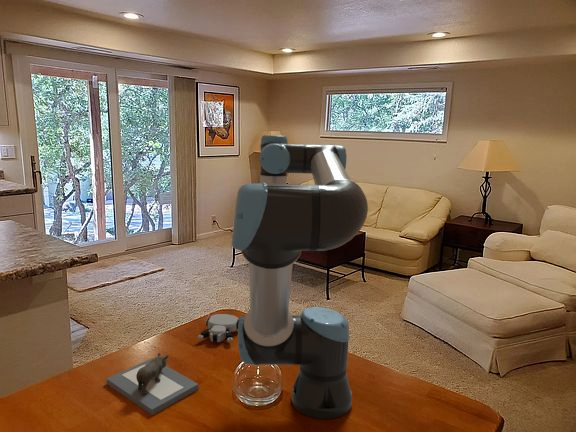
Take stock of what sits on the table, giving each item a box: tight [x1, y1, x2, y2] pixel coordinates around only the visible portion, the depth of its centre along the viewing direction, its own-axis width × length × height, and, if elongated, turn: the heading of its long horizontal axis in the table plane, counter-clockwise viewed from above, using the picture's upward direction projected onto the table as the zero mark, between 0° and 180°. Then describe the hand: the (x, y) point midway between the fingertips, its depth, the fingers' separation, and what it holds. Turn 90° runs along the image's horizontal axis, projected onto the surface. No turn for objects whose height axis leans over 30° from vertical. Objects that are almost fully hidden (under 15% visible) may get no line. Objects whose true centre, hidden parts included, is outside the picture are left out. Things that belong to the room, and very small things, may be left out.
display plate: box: [105, 357, 199, 416], centre depth 114 cm, size 20×14×2 cm
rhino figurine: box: [136, 352, 169, 395], centre depth 113 cm, size 4×14×6 cm, turn 166°
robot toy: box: [197, 313, 240, 343], centre depth 144 cm, size 12×4×15 cm
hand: (271, 261), depth 128 cm, fingers open, 13 cm apart
